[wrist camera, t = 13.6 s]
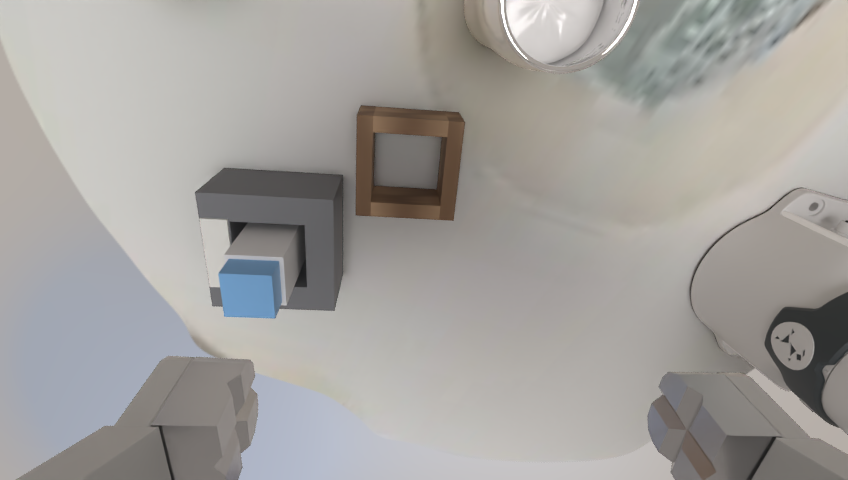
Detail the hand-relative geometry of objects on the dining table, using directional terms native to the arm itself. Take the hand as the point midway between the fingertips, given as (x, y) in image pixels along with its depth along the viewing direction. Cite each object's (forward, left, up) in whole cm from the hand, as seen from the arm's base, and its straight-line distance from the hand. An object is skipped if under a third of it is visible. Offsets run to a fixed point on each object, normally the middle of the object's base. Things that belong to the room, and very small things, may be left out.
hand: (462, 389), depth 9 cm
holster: (0, +4, -31) cm, 31 cm away
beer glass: (-6, -8, -31) cm, 33 cm away
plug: (+11, +11, -31) cm, 35 cm away
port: (+11, +11, -31) cm, 35 cm away
